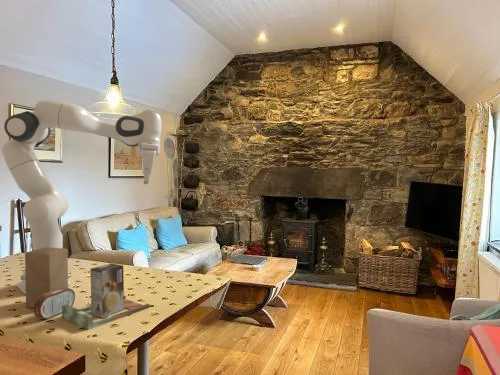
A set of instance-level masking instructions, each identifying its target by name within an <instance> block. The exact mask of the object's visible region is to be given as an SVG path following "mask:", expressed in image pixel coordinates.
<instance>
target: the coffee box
mask: <svg viewBox="0 0 500 375" xmlns="http://www.w3.org/2000/svg"><path fill="white" fill-rule="evenodd" d="M89 269H90V298H91V299H90V301H91V302H90V306H91V310H90V311H91V312H90V313H91V314H90V315H93V316H96V317H99V318H102V319H105V317H106V318H107V317H108V316H109V317H110V316H111V315H113V314H114V315H115V314H117V313H119V312H122V311H124V310H125V308H124V296H125V288H124V284H125V281H124V265H121V264H118V263H117V264H116V263H108V264H104V265H100V266H95V267H92V268H89Z"/></svg>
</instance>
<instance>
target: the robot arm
mask: <svg viewBox="0 0 500 375" xmlns="http://www.w3.org/2000/svg"><path fill="white" fill-rule="evenodd" d="M162 126H163V125H162V118H161V116H160V114H159V113H157V112H155V111H153V110H149V109H145V110H143V111H141V112H139V113H137V114H133V115H124V116H121V117H119V119H117V121H116V122H115V123H113V122H108V121H104V120H102V119H100V118H98V117H96V116H95V115H93V114H92V113H90V112H89V111H88V110H87V109H86V108H85V107H82V106H80V105H78V104H75V103H71V102H68V101H62V100H52V99H42V100H39V101H38V102H37V103H36V104H35V106H34V109H33V111H30V110H26V111H23V112H19V113H16V114H13V115H11V116H8V118H6V120H5V122H4V131H5V134H6V135H7V136H8V137H9V138H10V139H9V140H8V141H6V142H5V143H4V144H3V145H2V146H1V152H2V155H3V158H4V161H5V164H6V165H7V168H8V170H9V172H10V174H11V175H12V177H13V179H14V182H15V184H16V185H17V187H18V188H19V190H21V191H22V192H23V193H24V194H26V196H27V197H28V198H29V200H28V201H26V202H25V204H24V206H23V209H22V214H23V216H24V218H25V219H26V221H27V223H28V225H29V226H28V227H29V230H30V234H31V239H32V240H31V243H32V244H31V245H32V249H31V250H32V251H34V250H37V249H41V248H45V247H47V248H63V247H64V246H63V245H64V243H63V240H64V239H63V238H64V237H63V233H62V232H61V228H60V225H59V221H58V220H59V219H60V218H61V217H63V216H64V215H65V214H66V213H67V211H68V208H69V202H68V200H67V198H66V197H64V196H63V195H62V194H61V193H60V191H59V190H58V188H57V187H56V186H55V184H54V183H53V182H52V181H51V180H50V178H49V176H48V175H47V173H46V172H45V171H46V170H44V168H43V166H42V164H41V162H40V160H39V158H38V156H37V155H36V153H35V150H34V148H38V147H39V146H40V145H42V143H44V142H45V141H47V140H48V139H49V137H50V136H51V130H52V129H51V128H54V129H55V128H56V129H61V130H64V131H72V132H79V133H80V132H81V133H86V134H93V135H97V136H101V137H106V138H110V139H114V140H118V141H120V142H121V143H123V144H124V145H126V146H127V147H132V148H136V147H137V153H138V154H139V155H140V158H141V159H142V161H141V162H142V175H143V184H144V185H148V184H149V178H150V176H151V175H152V171H153V165H154V162H155V159H157V156H158V157H159V156H160V155H161V154H160V153H161V135H162ZM20 280H21V281H20V282H18V283H16V287H17V288H18V289H19V291H20V292H22V294H24V295H26V280H25V270H24V271H23V272H22V274H21V275H20ZM70 284H72V281H71V280H69V279H68V286H69V285H70Z"/></svg>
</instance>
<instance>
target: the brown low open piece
mask: <svg viewBox="0 0 500 375" xmlns="http://www.w3.org/2000/svg"><path fill="white" fill-rule="evenodd" d="M126 297H127V296H126V295H124V309H127V310H126V311H123V312H122V311H121V312H120V313H119V312H118V313H116V314H114V315H112V316H111V315H110V316H109V317H108V316H107V317H106V318H105V317H104V318H102V319H100V320H97V321H94V315H93V314H90V313H88V312H89V311H91V305H88V306H85V307H81V308H76V307H74V306H72V307H71V306H69V305H67V304H66V305H62V313H61V318H62V319H65V320H68V321H69V322H71V323H73V324H76V325H78V326H80V327H82V328H84V329H87V330H91V329H94V328H97V327H100V326H102V325H106V324H107V323H111V322H113V321H116V320H119V319H122V318H125V317H127V316H129V315H133V314H135V313H138V312H141V311H144V310H147V309H149V308H151V304H150V303H145V304H141V303H138V302H135V301H133V300H130V299H127V298H126Z"/></svg>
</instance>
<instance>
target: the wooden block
mask: <svg viewBox="0 0 500 375" xmlns="http://www.w3.org/2000/svg"><path fill="white" fill-rule="evenodd" d="M68 254H69V252H68V248H47V247H45V248H41V249H37V250H34V251H33V250H32V251H27V252H25V253H24V264H25V265H24V268H25V270H24V271H25V280H26V294H25V308H28V309H34V305H35V302H36V301H37V299H38V298H39V297H40V296H41V295H42V294H44V293H47V292H50V291H53V290H56V289H59V288H62V287H67V288H69V285H68V280H69V266H68V265H69V264H68V262H69V258H68V257H69V255H68Z"/></svg>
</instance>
